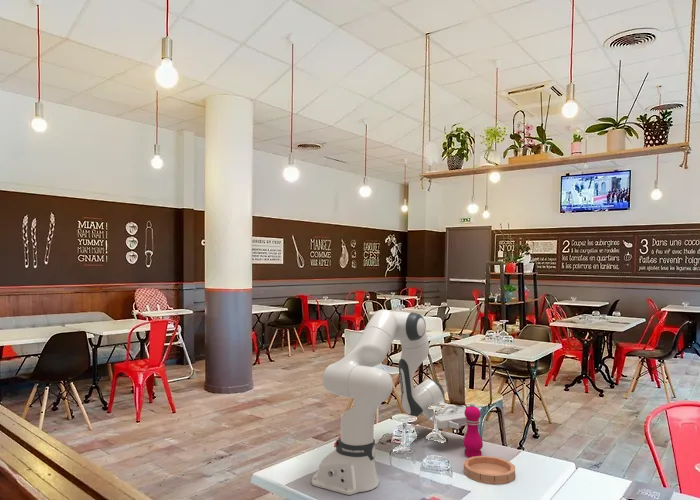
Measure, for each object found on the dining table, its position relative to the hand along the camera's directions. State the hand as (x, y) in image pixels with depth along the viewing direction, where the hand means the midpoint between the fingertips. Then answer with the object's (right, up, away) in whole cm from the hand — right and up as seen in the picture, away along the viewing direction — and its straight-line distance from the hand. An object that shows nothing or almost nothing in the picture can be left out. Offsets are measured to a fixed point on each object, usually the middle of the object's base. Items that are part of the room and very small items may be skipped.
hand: (469, 425), depth 189 cm
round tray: (+3, -10, -19) cm, 21 cm away
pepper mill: (+1, -11, -2) cm, 11 cm away
